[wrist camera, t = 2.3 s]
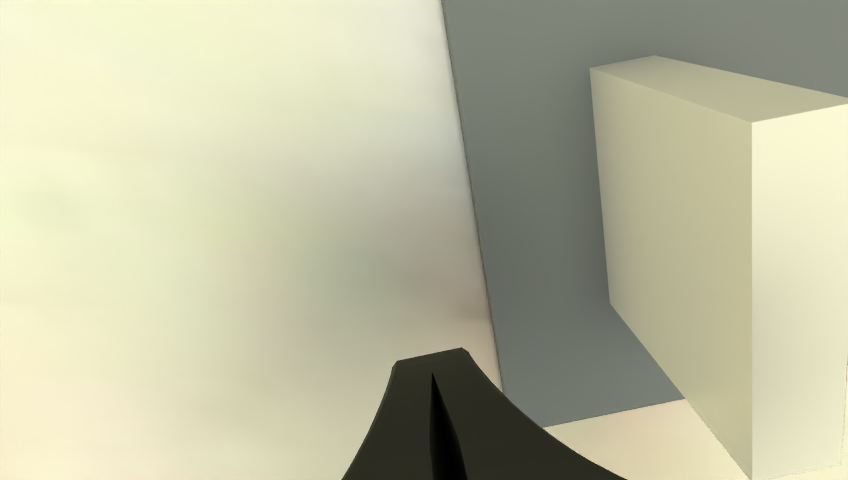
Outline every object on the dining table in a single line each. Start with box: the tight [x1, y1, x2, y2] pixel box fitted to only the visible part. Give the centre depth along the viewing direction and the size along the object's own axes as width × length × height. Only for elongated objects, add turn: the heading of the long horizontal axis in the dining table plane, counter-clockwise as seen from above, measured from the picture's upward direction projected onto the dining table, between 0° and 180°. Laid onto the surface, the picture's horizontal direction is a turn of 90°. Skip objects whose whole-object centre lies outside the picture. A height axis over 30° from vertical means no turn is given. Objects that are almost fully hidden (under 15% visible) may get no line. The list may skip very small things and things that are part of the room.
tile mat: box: [441, 0, 848, 428], centre depth 22 cm, size 17×16×1 cm
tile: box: [590, 55, 848, 480], centre depth 17 cm, size 8×2×9 cm, turn 10°
